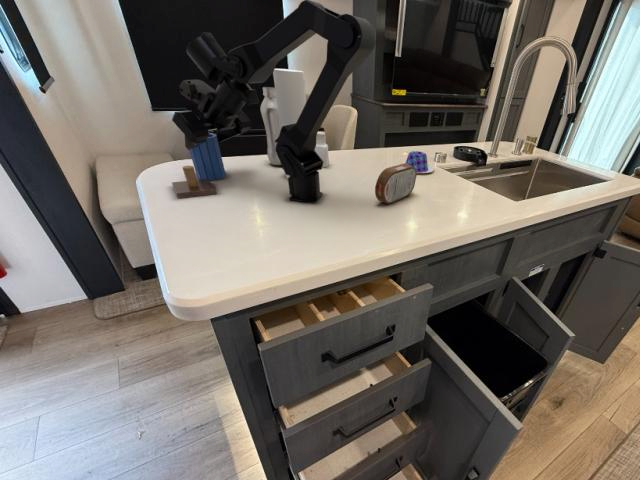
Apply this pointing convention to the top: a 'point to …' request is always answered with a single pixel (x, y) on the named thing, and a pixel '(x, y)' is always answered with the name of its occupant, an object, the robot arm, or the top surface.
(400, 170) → the tin
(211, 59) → the robot arm
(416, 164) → the blue checkered hat
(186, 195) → the stand
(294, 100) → the cylindrical container
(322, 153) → the pepper shaker
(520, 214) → the top surface
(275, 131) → the plastic bottle
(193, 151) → the blue ribbed vase
